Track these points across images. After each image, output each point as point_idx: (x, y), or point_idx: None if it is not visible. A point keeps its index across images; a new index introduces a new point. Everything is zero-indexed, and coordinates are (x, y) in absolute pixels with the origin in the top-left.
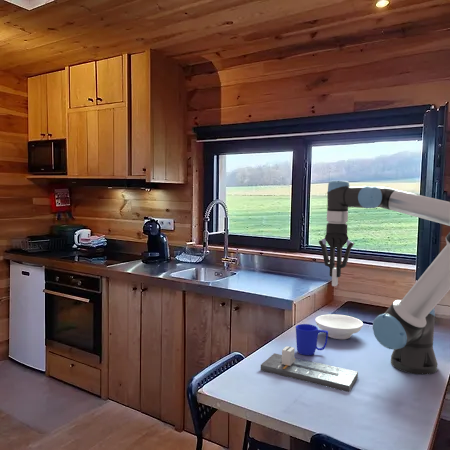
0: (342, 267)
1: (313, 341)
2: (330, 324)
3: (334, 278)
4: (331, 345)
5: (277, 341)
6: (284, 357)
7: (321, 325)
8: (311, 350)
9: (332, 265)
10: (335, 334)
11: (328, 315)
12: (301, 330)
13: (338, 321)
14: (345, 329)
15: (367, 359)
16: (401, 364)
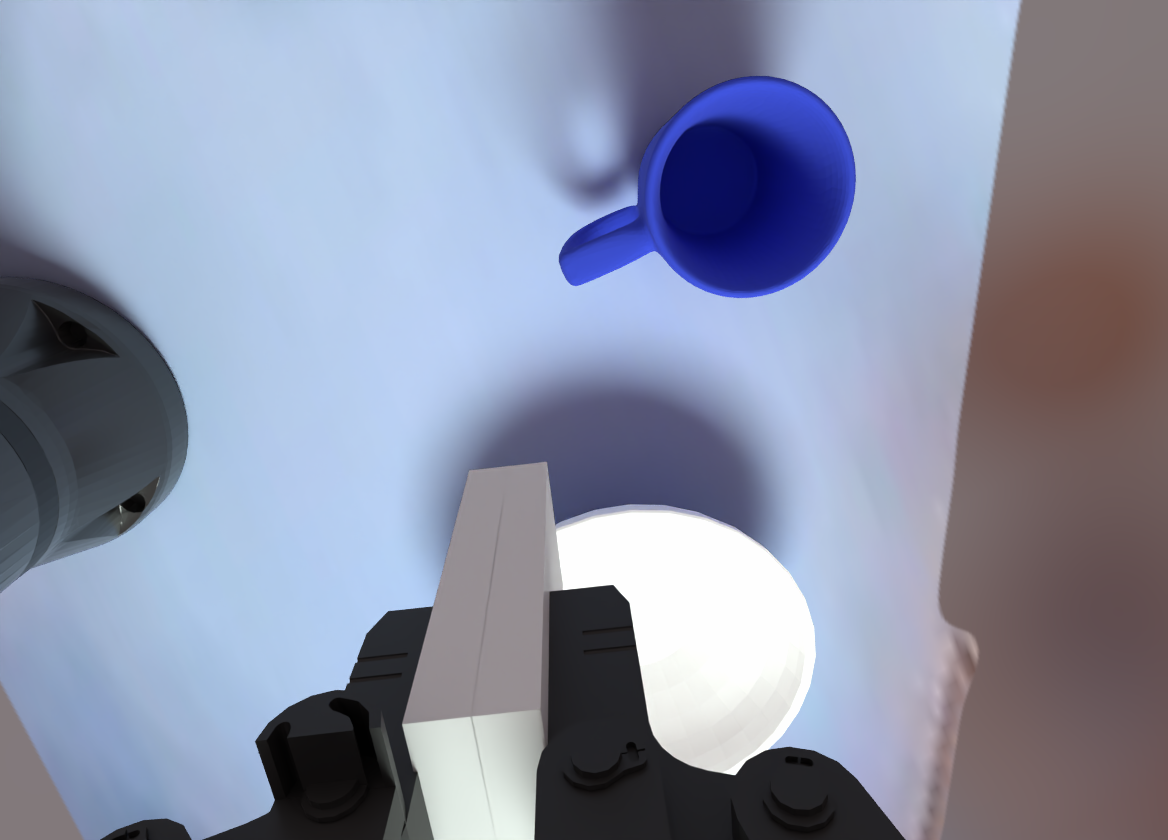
0: (167, 820)
1: (648, 151)
2: (715, 683)
3: (486, 545)
4: (605, 427)
5: (964, 263)
6: None
7: (722, 522)
8: (650, 142)
9: (547, 812)
10: (615, 532)
11: (754, 746)
12: (765, 76)
13: (676, 736)
14: None
15: (313, 338)
16: (35, 294)
